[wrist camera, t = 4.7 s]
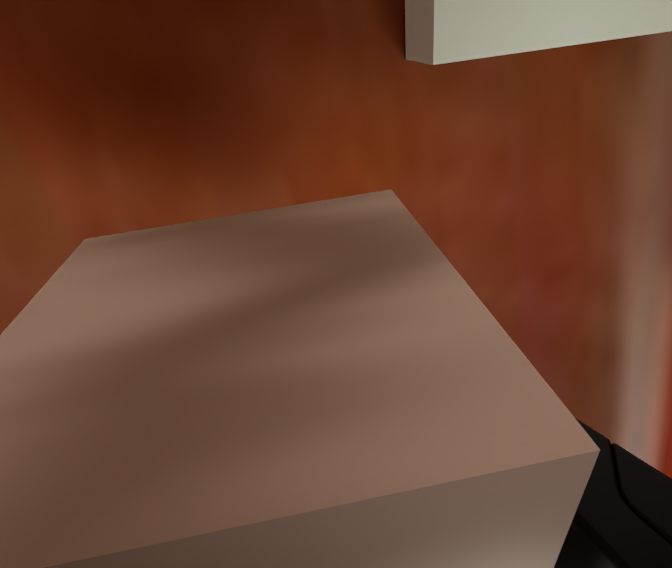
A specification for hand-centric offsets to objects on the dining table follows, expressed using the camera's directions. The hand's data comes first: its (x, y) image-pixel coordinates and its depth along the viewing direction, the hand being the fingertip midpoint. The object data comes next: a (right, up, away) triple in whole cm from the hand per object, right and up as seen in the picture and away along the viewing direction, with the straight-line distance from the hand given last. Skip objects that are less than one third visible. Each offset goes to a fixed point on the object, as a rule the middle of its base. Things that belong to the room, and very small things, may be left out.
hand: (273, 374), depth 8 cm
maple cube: (0, +1, +1) cm, 1 cm away
